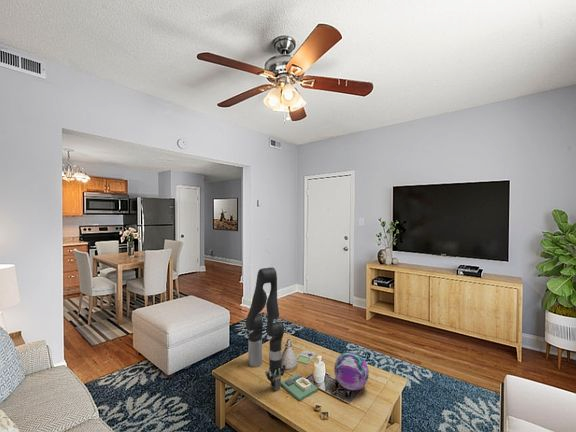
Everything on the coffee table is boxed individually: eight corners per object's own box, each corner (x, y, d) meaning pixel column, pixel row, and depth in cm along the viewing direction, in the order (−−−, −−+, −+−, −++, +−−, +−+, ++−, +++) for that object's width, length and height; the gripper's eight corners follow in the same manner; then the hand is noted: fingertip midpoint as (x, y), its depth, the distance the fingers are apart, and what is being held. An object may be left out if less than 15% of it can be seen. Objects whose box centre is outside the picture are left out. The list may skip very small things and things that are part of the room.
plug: (270, 386, 163) (270, 373, 162) (275, 384, 165) (275, 371, 164) (275, 390, 159) (275, 377, 158) (280, 388, 161) (280, 375, 160)
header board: (280, 384, 165) (280, 379, 165) (298, 375, 173) (297, 370, 173) (299, 401, 151) (299, 395, 150) (317, 390, 159) (317, 384, 159)
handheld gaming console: (316, 352, 199) (307, 363, 186) (316, 354, 199) (307, 365, 186) (303, 349, 204) (294, 359, 190) (303, 351, 204) (294, 361, 191)
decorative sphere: (365, 402, 149) (365, 367, 148) (330, 392, 157) (330, 358, 157) (370, 381, 167) (371, 349, 167) (338, 373, 176) (338, 343, 175)
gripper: (281, 349, 168) (281, 377, 169) (262, 357, 160) (262, 386, 160) (288, 355, 162) (288, 383, 163) (269, 363, 154) (269, 393, 154)
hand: (275, 384), depth 162 cm, fingers closed on plug, 3 cm apart
